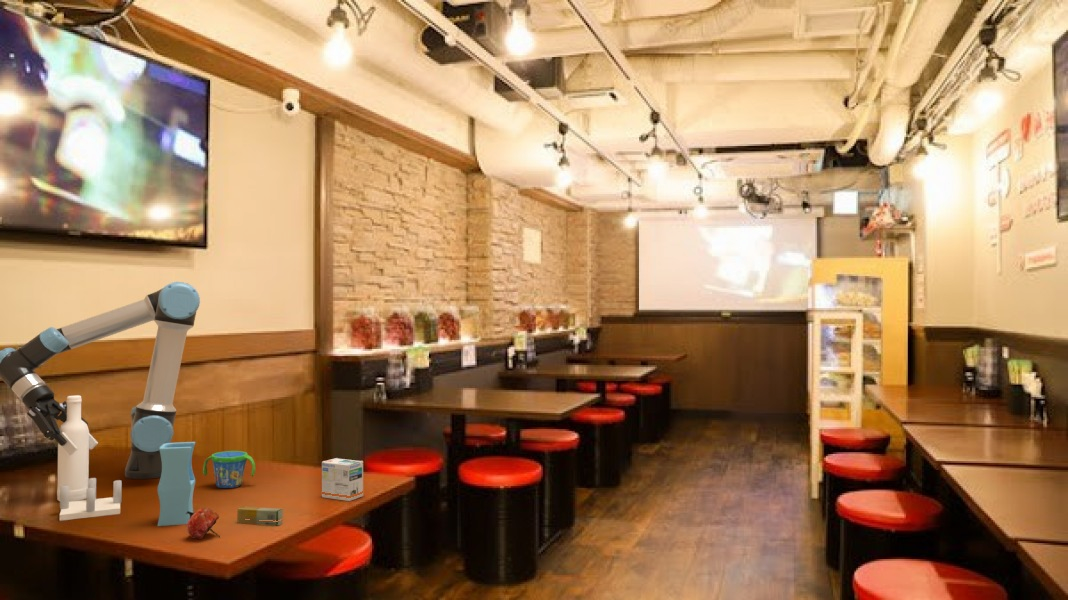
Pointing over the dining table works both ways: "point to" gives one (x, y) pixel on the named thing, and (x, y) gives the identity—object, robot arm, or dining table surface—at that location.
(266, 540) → the dining table surface
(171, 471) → the vase
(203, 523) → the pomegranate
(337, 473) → the light bulb box
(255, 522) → the medication box
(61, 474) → the bottle
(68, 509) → the pin caddy
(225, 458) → the snack cup
